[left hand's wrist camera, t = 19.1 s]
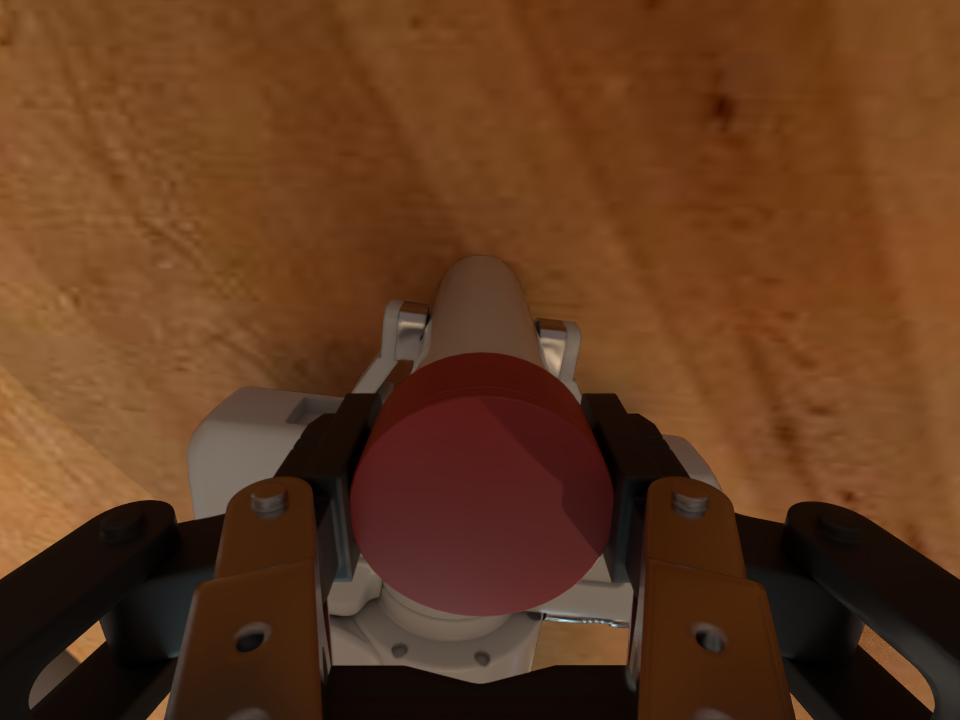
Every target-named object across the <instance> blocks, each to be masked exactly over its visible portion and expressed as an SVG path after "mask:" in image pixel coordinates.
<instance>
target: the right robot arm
mask: <svg viewBox="0 0 960 720" xmlns="http://www.w3.org/2000/svg"><path fill="white" fill-rule="evenodd" d="M429 316H430V305H429V304H422V303H415V302H408V301H404V300H390V301H389V303H388V304H387V306H386V309H385V313H384V319H383V331H382V347H381V349H380V351H379V352H378V353H377V355H376V356H375V357H374V359H373V360H372V362H371V363H370V364H369V366H368V367H367V368H366V370H365V371H364V372H363V374H362V375H361V377H360V378H359V380H358V382H357V383H356V385H355V387H354V388H353V390H352V392H351V393H379V394H380V396H381V400H382V405H383V404H384V402H385V401H386V399H387V398H388V396H389V395H390V394H391V393H392V392H393V390H394V384H393V383H392V382H391V381H384V380H385V379H386V378H387V376H388V375H389V374H390V372H391V371H392V369H393V368H394V367H395V365H396V364H397V363H398V361H399V360H405V361H414V360H415V357H416V354H417V351H418V348H419V345H420V343H421V340H422V337H423V334H424V331H425V328H426V325H427V322H428V319H429ZM535 326H536V329H537V332H538V335H539V337H540V340H541V343H542V346H543V349H544V352H545V355H546V357H547V360H548V363H549V366H550V369H551V372H552V374H553V375H554V376H555V377H556V378H557V379H559V380H560V381H561V382H562V383H563V384H564V385H565V386H566V387H567V388H568V389H569V390H570V391H571V392H572V394H573V395H574V396H575V398H576V399H577V401H578V402H579V404H581V398H582V396H581V394H580V391H579V388H578V385H577V383H576V380H575V378H574V372H575V367H576V362H577V357H578V352H579V348H580V343H581V332H580V329H579V328H578V326H577V324H576V323H575V322H569V321H562V320H553V319H544V318H537V319H536V320H535ZM344 398H345V397H336V396H327V395H319V394H310V393H302V392H293V391H284V390H276V389H267V388H260V387H243V388H241V389H239V390H237V391H235V392H234V393H233V394H232V395H230V396H229V397H228V398H227V399H225V400H224V401H223V402H222V403H220V404H219V405H218V406H217V407H215V408H214V409H213V410H212V411H211V412H210V413H209V414H208V415H207V416H206V417H205V418H204V419H203V421H202V422H201V423H200V424H199V425H198V427H197V428H196V429H195V430H194V432H193V434H192V436H191V438H190V440H189V443H188V452H187V462H188V475H189V484H190V492H191V499H192V506H193V511H194V517H195V520H197V519H202V518H207V517H212V516H217V515H221V514H224V513H226V508H227V505H228V503H229V501H230V499H231V498H232V497H233V496H234V495H235V494H236V493H237V492H239V491H240V490H242V489H243V488H245V487H246V486H248V485H250V484H253V483H255V482H258V481H261V480H264V479H268V478H273V476H274V475H275V473H276V472H277V470H278V469H279V467H280V466H281V464H282V463H283V461H284V460H285V458H286V457H287V455H288V454H289V452H290V451H291V449H293V446H294V445H295V443H296V442H297V440H298V439H300V436H301V434H302V433H303V431H304V430H305V428H306V427H307V425H308V424H309V423H310V422H312V421H313V420H315V419H316V418H318V417H319V416H321V415H323V414H324V413H336V412H337V410H338V408H339V406H340V405H341V403H342V401H343V400H344ZM661 435H662V436H663V439H665V441H666V442H667V443H668V445H669V446H670V450H672V451H673V452H674V454H675V455H676V457H677V458H678V460H679V461H680V463H681V464H682V466H683V467H684V469H685V470H686V472H687V473H688V475H689V476H690V477H691V478H692V479H696V480H699V481H702V482H705V483H707V484H710V485H712V486H714V487H715V488H717V489H718V490H720V491H721V492H723V491H722V489H721V486H720V484H719V482H718V480H717V478H716V477H715V475H714V474H713V472H712V470H711V469H710V467H709V466H708V464H707V463H706V462H705V460H704V459H703V458H702V457H701V455H700V454H699V453H698V452H697V451H696V450H695V448H694V447H693V446H692V445H691V444H690V443H689V442H688V441H687V440H686V439H684V438H682V437H678V436H672V435H664V434H661ZM632 598H633V589H632V586H631V583H612V582H611V579H610V576H609V573H608V569H607V566H606V563H605V560H604V557H603V554H602V555H601V557H600V558H599V560H598V561H597V562H596V564H595V565H594V566H593V568H592V569H591V570H590V571H589V572H588V573H587V574H586V575H585V577H584V578H583V579H582V580H580V581H579V582H578V583H577V584H576V585H574V586H573V587H572V588H571V589H569V590H568V591H566V592H565V593H563V594H562V595H560V596H559V597H557V598H555V599H553V600H551V601H549V602H547V603H545V604H542V605H540V606H537V607H534V608H532V609H529V610H525V611H521V612H517V613H513V614H507V615H500V616H486V617H478V616H463V615H456V614H450V613H446V612H442V611H438V610H434V609H432V608H429V607H426V606H423V605H421V604H419V603H417V602H415V601H412V600H410V599H408V598H406V597H405V596H403V595H402V594H400V593H399V592H397V591H395V590H394V589H393V588H391V587H390V586H389V585H388V584H387V583H385V582H384V581H383V580H382V579H381V578H380V577H379V576H378V575H377V574H376V573H375V572H374V571H373V570H372V568H371V567H370V566H369V564H368V563H367V562H366V560H365V559H364V558H363V556H362V554H361V553H360V557H359V560H358V563H357V566H356V570H355V573H354V576H353V579H352V582H333V584H332V587H331V590H330V593H329V595H328V598H327V599H328V606H329V615H330V627H331V639H332V652H333V664H334V665H405V666H409V667H413V668H417V669H421V670H424V671H428V672H432V673H436V674H440V675H444V676H448V677H452V678H456V679H460V680H464V681H467V682H471V683H477V684H483V683H489V682H493V681H496V680H500V679H504V678H508V677H512V676H516V675H520V674H524V673H528V672H530V671H531V667H532V662H533V658H534V654H535V649H536V644H537V640H538V636H539V632H540V627H541V623H542V620H546V621H547V620H548V621H556V622H567V623H601V624H608V625H609V626H612V627H617V628H629V627H630V615H631V606H632Z"/></svg>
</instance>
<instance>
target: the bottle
mask: <svg viewBox="0 0 960 720" xmlns="http://www.w3.org/2000/svg"><path fill="white" fill-rule="evenodd" d="M476 352H487V353H499V354H505V355H510V356H514V357H517V358H520V359H524V360H527V361H529V362H531V363H533V364H535V365H538V366H540V367H541V368H543V369H545V370H546V371H548V372H549V373H551V374H552V372H551V369H550V366H549V363H548V360H547V357H546V355H545V352H544V349H543V346H542V343H541V340H540V337H539V335H538V332H537V329H536V326H535V323H534V320H533V317H532V314H531V312H530V309H529V306H528V303H527V300H526V297H525V294H524V292H523V289H522V286H521V283H520V280H519V278H518V276H517V275H516V273H515V272H514V271H513V269H512V268H511V267H510V266H508V265H507V264H506V263H505V262H503V261H501V260H499V259H497V258H494V257H491V256H486V255H476V256H470V257H467V258H464V259H462V260H460V261H458V262H457V263H455V264H454V265H453V266H452V267H451V268H449V270H448V271H447V272H446V273H445V275H444V277H443V278H442V281H441V283H440V286H439V289H438V292H437V295H436V298H435V301H434V304H433V307H432V310H431V313H430V316H429V319H428V322H427V325H426V328H425V331H424V334H423V337H422V340H421V343H420V345H419V348H418V351H417V354H416V357H415V360H414V363H413V366H412V369H411V372H410V375H411V374H412V373H414V372H415V371H417V370H419V369H420V368H422V367H424V366H426V365H428V364H430V363H432V362H434V361H437V360H440V359H443V358H446V357H449V356H453V355H459V354H464V353H476Z"/></svg>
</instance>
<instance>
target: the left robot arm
mask: <svg viewBox="0 0 960 720" xmlns="http://www.w3.org/2000/svg"><path fill="white" fill-rule="evenodd" d="M580 405H581V407H582V409H583V411H584V413H585V416H586V418H587V420H588V422H589V425H590V427H591V429H592V432H593V434H594V436H595V439H596V441H597V444H598V446H599V448H600V451H601V453H602V455H603V458H604V460H605V462H606V465H607V467H608V469H609V472H610V475H611V479H612V482H613V485H614V503H613V512H612V520H611V529H610V537H609V541H608V543H607V545H606V547H605V549H604V551H603V553H602V554H603V557H604V560H605V563H606V566H607V569H608V573H609V576H610V579H611V582H612V583H631V586H632V589H633V598H632V606H631V615H630V627H629V639H628V651H627V664H626V665H555V666H551V667H547V668H543V669H539V670H536V671H532V672H528V673H524V674H520V675H516V676H512V677H508V678H504V679H500V680H496V681H493V682H489V683H483V684H477V683H471V682H467V681H464V680H460V679H456V678H452V677H448V676H444V675H440V674H436V673H432V672H428V671H424V670H421V669H417V668H413V667H409V666H405V665H334V664H333V652H332V639H331V627H330V615H329V606H328V599H327V598H328V595H329V593H330V590H331V587H332V584H333V582H352V579H353V576H354V573H355V570H356V566H357V563H358V560H359V557H360V553H361V552H360V550H359V548H358V546H357V544H356V542H355V539H354V536H353V528H352V520H351V511H350V501H349V491H350V485H351V482H352V478H353V475H354V472H355V469H356V467H357V464H358V462H359V459H360V457H361V455H362V452H363V450H364V447H365V445H366V442H367V440H368V437H369V435H370V433H371V430H372V428H373V425H374V423H375V420H376V418H377V416H378V414H379V411H380V409H381V407H382V400H381V396H380V394H379V393H348V394H347V395H346V396H345V398H344V400H343V401H342V403H341V405H340V406H339V408H338V410H337V412H336V413H324V414H323V415H321V416H319V417H318V418H316V419H315V420H313V421H312V422H310V423H309V424H308V425H307V427H306V428H305V430H304V431H303V433H302V434H301V436H300V439H298V440H297V442H296V443H295V445H294V446H293V449H291V451H290V452H289V454H288V455H287V457H286V458H285V460H284V461H283V463H282V464H281V466H280V467H279V469H278V470H277V472H276V473H275V475H274V476H273V478H268V479H264V480H261V481H258V482H255V483H253V484H250V485H248V486H246V487H245V488H243V489H242V490H240V491H239V492H237V493H236V494H235V495H234V496H233V497H232V498H231V499H230V501H229V503H228V505H227V508H226V513H224V514H221V515H217V516H212V517H207V518H202V519H197V520H192V521H187V522H182V523H177V519H176V515H175V512H174V509H173V507H172V506H171V505H170V504H168V503H166V502H163V501H157V500H144V501H137V502H131V503H128V504H124V505H121V506H118V507H115V508H112V509H110V510H108V511H105V512H103V513H101V514H99V515H98V516H96V517H94V518H93V519H91V520H89V521H88V522H86V523H85V524H83V525H82V526H80V527H79V528H77V529H76V530H74V531H73V532H71V533H70V534H68V535H67V536H65V537H64V538H62V539H61V540H59V541H58V542H56V543H55V544H53V545H52V546H50V547H49V548H47V549H46V550H44V551H43V552H41V553H40V554H38V555H37V556H35V557H34V558H32V559H31V560H29V561H28V562H26V563H25V564H23V565H22V566H20V567H19V568H17V569H16V570H14V571H13V572H11V573H9V574H8V575H6V576H5V577H3V578H2V579H0V720H146V719H147V718H148V717H149V716H150V714H151V713H152V712H153V711H154V710H155V709H156V708H157V706H158V705H159V704H160V703H161V702H162V701H163V699H164V698H165V697H166V696H167V695H168V694H169V692H170V691H171V692H170V696H169V701H168V705H167V709H166V713H165V718H164V720H796V718H795V713H794V709H793V705H792V701H791V696H790V692H791V694H792V695H793V696H794V697H795V698H796V699H797V701H798V702H799V703H800V704H801V705H802V706H803V708H804V709H805V710H806V711H807V712H808V713H809V714H810V716H811V717H812V718H813V719H814V720H960V579H958V578H957V577H955V576H954V575H952V574H951V573H949V572H948V571H946V570H944V569H943V568H941V567H940V566H938V565H937V564H935V563H934V562H932V561H931V560H929V559H928V558H926V557H925V556H923V555H922V554H920V553H919V552H917V551H916V550H914V549H913V548H911V547H910V546H908V545H907V544H905V543H904V542H902V541H901V540H899V539H898V538H896V537H895V536H893V535H892V534H890V533H889V532H887V531H886V530H884V529H883V528H881V527H880V526H878V525H877V524H875V523H874V522H872V521H871V520H869V519H867V518H866V517H864V516H862V515H860V514H858V513H856V512H854V511H851V510H849V509H846V508H843V507H840V506H837V505H833V504H829V503H823V502H800V503H797V504H795V505H793V506H791V507H790V508H789V510H788V512H787V516H786V520H785V524H783V523H778V522H773V521H768V520H763V519H758V518H753V517H748V516H744V515H741V514H737V513H734V508H733V505H732V503H731V501H730V499H729V498H728V497H727V496H726V495H725V494H724V493H723V492H721V491H720V490H718V489H717V488H715V487H714V486H712V485H710V484H707V483H705V482H702V481H699V480H696V479H692V478H691V477H690V476H689V475H688V473H687V472H686V470H685V469H684V467H683V466H682V464H681V463H680V461H679V460H678V458H677V457H676V455H675V454H674V452H673V451H672V450H670V446H669V445H668V443H667V442H666V441H665V439H663V436H662V435H661V433H660V432H659V430H658V429H657V427H656V426H655V424H653V423H652V422H650V421H649V420H647V419H646V418H644V417H643V416H641V415H640V414H627V412H626V410H625V409H624V407H623V405H622V404H621V402H620V400H619V399H618V397H617V395H616V394H583V395H582V398H581V404H580ZM98 620H99V621H100V624H101V627H102V630H103V633H104V635H105V638H106V641H105V642H104V643H103V644H102V645H101V646H100V647H99V648H98V649H96V650H95V651H94V652H93V653H92V654H91V655H90V656H89V657H88V658H87V659H86V660H84V661H83V662H82V663H81V664H80V665H79V666H78V667H77V668H76V669H75V670H74V671H73V672H71V673H70V674H69V675H68V676H67V677H66V678H65V679H64V680H63V681H62V682H61V683H59V684H58V685H57V686H56V687H55V688H54V689H53V690H52V691H51V692H50V693H49V694H47V695H46V696H45V697H44V698H43V699H42V700H41V701H40V702H39V703H38V704H37V705H35V706H34V707H33V708H32V709H31V710H30V708H29V702H28V700H29V694H30V691H31V688H32V686H33V684H34V682H35V680H36V678H37V677H38V675H39V674H40V673H41V671H42V670H43V669H44V668H45V667H46V666H47V665H48V664H49V663H50V662H51V661H52V660H53V659H54V658H56V657H57V656H58V655H59V654H60V653H61V652H62V651H64V650H65V649H66V648H67V647H68V646H69V645H71V644H72V643H73V642H74V641H75V640H76V639H78V638H79V637H80V636H81V635H82V634H83V633H84V632H86V631H87V630H88V629H89V628H90V627H91V626H93V625H94V624H95V623H96V622H97V621H98ZM865 624H866V625H867V626H869V627H870V628H871V629H872V630H873V631H874V632H876V633H877V634H878V635H879V636H880V637H881V638H883V639H884V640H885V641H886V642H887V643H888V644H889V645H891V646H892V647H893V648H894V649H895V650H896V651H898V652H899V653H900V654H901V655H902V656H903V657H904V658H906V659H907V660H908V661H909V662H910V663H911V664H913V665H914V666H915V667H916V668H917V669H918V670H919V672H920V673H921V674H922V675H923V677H924V678H925V679H926V681H927V683H928V684H929V686H930V688H931V690H932V693H933V696H934V701H935V709H934V712H933V713H932V712H931V711H930V710H929V709H928V708H927V707H926V706H925V705H923V704H922V703H921V702H920V701H919V700H918V699H917V698H916V697H915V696H914V695H913V694H911V693H910V692H909V691H908V690H907V689H906V688H905V687H904V686H903V685H902V684H901V683H899V682H898V681H897V680H896V679H895V678H894V677H893V676H892V675H891V674H890V673H889V672H888V671H886V670H885V669H884V668H883V667H882V666H881V665H880V664H879V663H878V662H877V661H876V660H874V659H873V658H872V657H871V656H870V655H869V654H868V653H867V652H866V651H865V650H864V649H862V648H861V647H860V646H859V645H858V642H859V639H860V637H861V634H862V631H863V628H864V626H865ZM789 691H790V692H789Z"/></svg>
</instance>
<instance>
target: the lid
mask: <svg viewBox="0 0 960 720" xmlns="http://www.w3.org/2000/svg"><path fill="white" fill-rule="evenodd" d="M349 501H350V511H351V520H352V528H353V536H354V539H355V542H356V544H357V546H358V548H359V550H360V552H361V554H362V556H363V558H364V559H365V560H366V562H367V563H368V564H369V566H370V567H371V568H372V570H373V571H374V572H375V573H376V574H377V575H378V576H379V577H380V578H381V579H382V580H383V581H384V582H385V583H387V584H388V585H389V586H390V587H391V588H393V589H394V590H395V591H397V592H399V593H400V594H402V595H403V596H405V597H406V598H408V599H410V600H412V601H415V602H417V603H419V604H421V605H423V606H426V607H429V608H432V609H434V610H438V611H442V612H446V613H450V614H456V615H463V616H478V617H486V616H500V615H507V614H513V613H517V612H521V611H525V610H529V609H532V608H534V607H537V606H540V605H542V604H545V603H547V602H549V601H551V600H553V599H555V598H557V597H559V596H560V595H562V594H563V593H565V592H566V591H568V590H569V589H571V588H572V587H573V586H574V585H576V584H577V583H578V582H579V581H580V580H582V579H583V578H584V577H585V575H586V574H587V573H588V572H589V571H590V570H591V569H592V568H593V566H594V565H595V564H596V562H597V561H598V560H599V558H600V557H601V555H602V553H603V551H604V549H605V547H606V545H607V543H608V541H609V537H610V529H611V520H612V512H613V503H614V485H613V482H612V479H611V475H610V472H609V469H608V467H607V465H606V462H605V460H604V458H603V455H602V453H601V451H600V448H599V446H598V444H597V441H596V439H595V436H594V434H593V432H592V429H591V427H590V425H589V422H588V420H587V418H586V416H585V413H584V411H583V409H582V407H581V405H580V404H579V402H578V401H577V399H576V398H575V396H574V395H573V394H572V392H571V391H570V390H569V389H568V388H567V387H566V386H565V385H564V384H563V383H562V382H561V381H560V380H559V379H557V378H556V377H555V376H554V375H553V374H551V373H549V372H548V371H546V370H545V369H543V368H541V367H540V366H538V365H535V364H533V363H531V362H529V361H527V360H524V359H520V358H517V357H514V356H510V355H505V354H499V353H487V352H476V353H464V354H459V355H453V356H449V357H446V358H443V359H440V360H437V361H434V362H432V363H430V364H428V365H426V366H424V367H422V368H420V369H419V370H417V371H415V372H414V373H412V374H411V375H409V376H408V377H407V378H406V379H405V380H403V381H402V382H401V383H400V384H399V385H398V386H397V387H396V388H395V389H394V390H393V392H392V393H391V394H390V395H389V396H388V398H387V399H386V401H385V402H384V404H383V405H382V407H381V409H380V411H379V414H378V416H377V418H376V420H375V423H374V425H373V428H372V430H371V433H370V435H369V437H368V440H367V442H366V445H365V447H364V450H363V452H362V455H361V457H360V459H359V462H358V464H357V467H356V469H355V472H354V475H353V478H352V482H351V485H350V491H349Z"/></svg>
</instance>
